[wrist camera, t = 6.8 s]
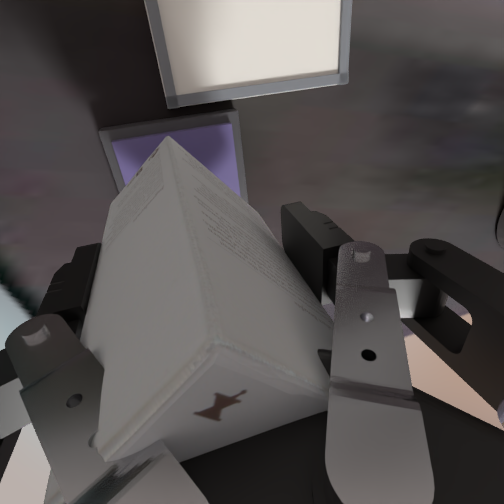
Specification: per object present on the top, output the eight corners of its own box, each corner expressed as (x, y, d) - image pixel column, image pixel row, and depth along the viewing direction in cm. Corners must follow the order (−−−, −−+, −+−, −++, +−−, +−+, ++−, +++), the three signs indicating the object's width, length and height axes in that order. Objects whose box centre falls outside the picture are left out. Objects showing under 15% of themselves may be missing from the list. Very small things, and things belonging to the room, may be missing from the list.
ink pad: (234, 108, 17) (239, 111, 16) (247, 221, 21) (252, 230, 20) (101, 127, 16) (97, 133, 15) (140, 244, 20) (139, 255, 19)
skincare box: (107, 204, 14) (18, 528, 4) (167, 131, 13) (218, 334, 4) (208, 269, 18) (284, 540, 8) (261, 213, 17) (424, 438, 7)
